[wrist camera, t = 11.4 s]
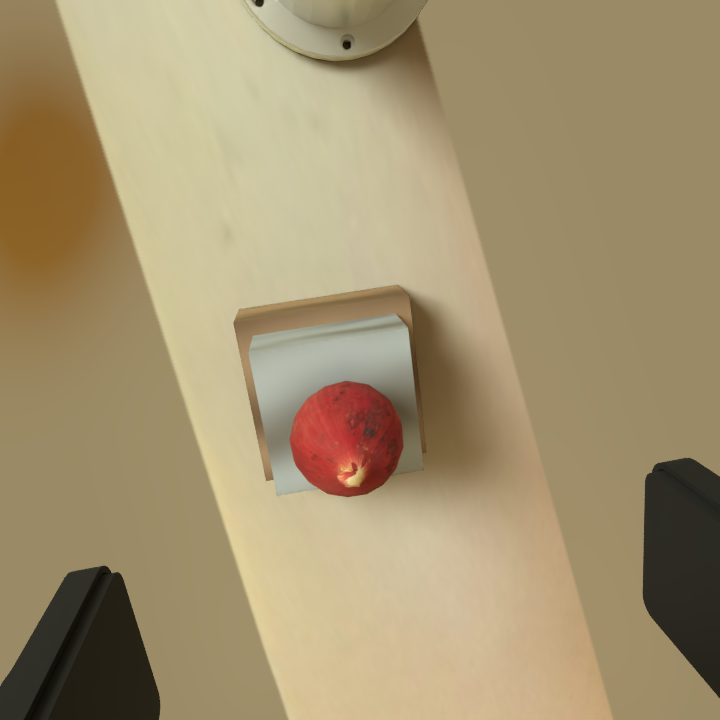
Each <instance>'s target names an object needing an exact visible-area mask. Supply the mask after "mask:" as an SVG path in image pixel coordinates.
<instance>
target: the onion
mask: <svg viewBox="0 0 720 720" xmlns="http://www.w3.org/2000/svg"><path fill="white" fill-rule="evenodd" d="M289 441H290V445H291V450H292V455H293V459H294V462H295V465H296V467H297V468H298V469H299V471H300V472H301V473H302V474H303V476H304V477H305V478H306V479H307V481H308V482H309V483H311V484H312V485H314V486H315V487H317V488H319V489H320V490H322V491H324V492H325V493H327V494H331V495H338V496H344V497H351V496H358V495H364V494H368V493H369V492H371V491H373V490H375V489H376V488H378V487H380V486H382V485H383V484H384V483H385V482H386V481H387V479H388V478H389V477H390V476H391V475H392V473H393V472H394V471H395V470H396V468H397V465H398V462H399V459H400V456H401V453H402V450H403V448H404V444H403V431H402V423H401V419H400V418H399V416H398V414H397V412H396V410H395V408H394V406H393V405H392V403H391V401H390V400H389V399H388V398H387V397H386V396H385V395H383V394H382V393H380V392H379V391H377V390H376V389H374V388H373V387H372V386H370V385H369V384H363V383H357V382H351V381H343V382H339V383H336V384H332V385H328V386H325V387H323V388H322V389H320V390H319V391H317V392H316V393H314V394H313V395H311V396H310V397H308V398H307V400H306V401H305V402H304V404H303V405H302V407H301V408H300V409H299V411H298V412H297V414H296V416H295V418H294V422H293V426H292V430H291V435H290V439H289Z"/></svg>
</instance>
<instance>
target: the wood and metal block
mask: <svg viewBox="0 0 720 720" xmlns="http://www.w3.org/2000/svg"><path fill="white" fill-rule="evenodd" d="M234 328H235V333H236V338H237V342H238V347H239V352H240V357H241V362H242V366H243V371H244V376H245V381H246V386H247V391H248V395H249V400H250V405H251V410H252V415H253V419H254V424H255V429H256V434H257V439H258V444H259V448H260V453H261V458H262V463H263V468H264V472H265V477H266V481H269V480H274V483H275V488H276V492H277V496H280V495H286V494H291V493H297V492H302V491H308V490H314V489H319V488H317V487H315V486H314V485H312V484H311V483H309V482H308V481H307V479H306V478H305V477H304V476H303V474H302V473H301V472H300V471H299V469H298V468H297V467H296V465H295V462H294V459H293V455H292V450H291V445H290V441H289V439H290V435H291V430H292V426H293V422H294V418H295V416H296V414H297V412H298V411H299V409H300V408H301V407H302V405H303V404H304V402H305V401H306V400H307V398H308V397H310V396H311V395H313V394H314V393H316V392H317V391H319V390H320V389H322V388H323V387H325V386H328V385H332V384H336V383H339V382H343V381H351V382H357V383H363V384H369V385H370V386H372V387H373V388H374V389H376V390H377V391H379V392H380V393H382V394H383V395H385V396H386V397H387V398H388V399H389V400H390V401H391V403H392V405H393V406H394V408H395V410H396V412H397V414H398V416H399V418H400V419H401V423H402V431H403V444H404V448H403V450H402V453H401V456H400V459H399V462H398V465H397V468H396V470H395V471H394V472H393V473H392V475H397V474H402V473H408V472H413V471H419V470H424V466H423V458H422V453H426V444H425V435H424V426H423V416H422V407H421V398H420V389H419V380H418V371H417V361H416V352H415V343H414V334H413V325H412V316H411V306H410V297H409V294H407V293H406V292H405V291H404V290H403V289H402V288H401V287H400V286H398V285H394V286H387V287H381V288H374V289H368V290H361V291H355V292H349V293H342V294H336V295H329V296H323V297H316V298H310V299H304V300H297V301H291V302H284V303H278V304H271V305H265V306H258V307H252V308H246V309H239V311H238V313H237V315H236V318H235V320H234Z"/></svg>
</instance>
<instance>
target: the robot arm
mask: <svg viewBox="0 0 720 720" xmlns="http://www.w3.org/2000/svg"><path fill="white" fill-rule="evenodd" d="M263 1H264V5H263V6H262V7H258V6H256V4H255V2H256V0H242V2H243V4H244V5H245V7H246V9H247V10H248V11H249V13H250V14H251V15H252V16H253V18H254V19H255V20H256V21H257V23H258V24H259V25H260V26H261V27H262V28H263V29H264V30H265V31H266V32H268V33H269V34H270V35H271V36H272V37H273V38H274V39H275V40H277V41H278V42H280V43H282V44H283V45H285V46H287V47H288V48H290V49H292V50H293V51H295V52H298V53H301V54H303V55H306V56H309V57H312V58H315V59H322V60H329V61H342V60H354V59H357V58H361V57H364V56H368V55H371V54H373V53H375V52H377V51H379V50H381V49H383V48H384V47H386V46H388V45H390V44H391V43H392V42H393V41H394V40H396V39H397V38H398V37H399V36H400V35H402V34H403V33H404V32H405V31H406V30H407V29H408V27H409V26H410V25H411V24H412V23H413V22H414V20H415V19H416V18H417V16H418V15H419V13H420V12H421V10H422V9H423V7H424V5H425V4H426V2H427V0H263ZM345 41H347V42H349V43H350V45H351V48H350V49H348V50H347V49H345V48H343V42H345ZM643 599H644V604H645V606H646V609H647V611H648V613H649V614H650V616H651V617H652V619H653V620H654V621H655V622H656V623H657V624H658V626H659V627H660V628H661V629H662V630H663V631H664V633H665V634H666V635H667V636H668V637H669V639H670V640H671V641H672V642H673V643H674V645H675V646H676V647H677V648H678V649H679V650H680V652H681V653H682V654H683V655H684V656H685V658H686V659H687V660H688V661H689V662H690V664H691V665H692V666H693V667H694V668H695V669H696V671H697V672H698V673H699V674H700V675H701V677H702V678H703V679H704V680H705V681H706V682H707V684H708V685H709V686H710V687H711V688H712V690H713V691H714V692H715V693H716V694H717V696H718V697H719V698H720V477H719V476H718V475H716V474H715V473H713V472H712V471H710V470H709V469H707V468H706V467H704V466H703V465H701V464H700V463H698V462H697V461H695V460H693V459H691V458H683V459H678V460H673V461H667V462H662V463H658V464H656V465H655V466H654V468H653V470H652V473H649V474H648V475H647V477H646V480H645V513H644V563H643ZM159 698H160V697H159V692H158V689H157V686H156V683H155V680H154V676H153V673H152V670H151V667H150V663H149V660H148V657H147V654H146V651H145V647H144V644H143V641H142V638H141V635H140V631H139V628H138V625H137V622H136V619H135V615H134V612H133V609H132V606H131V603H130V600H129V596H128V593H127V590H126V587H125V583H124V580H123V578H122V576H121V574H120V573H118V572H116V573H111V571H110V570H109V568H108V567H106V566H100V567H94V568H89V569H84V570H78V571H73V572H70V573H68V574H67V576H66V577H65V578H64V580H63V582H62V584H61V585H60V587H59V589H58V590H57V592H56V594H55V596H54V597H53V599H52V601H51V602H50V604H49V606H48V608H47V609H46V611H45V613H44V615H43V616H42V618H41V620H40V621H39V623H38V625H37V627H36V629H35V630H34V632H33V634H32V635H31V637H30V639H29V640H28V642H27V644H26V646H25V648H24V649H23V651H22V653H21V654H20V656H19V658H18V660H17V661H16V663H15V665H14V667H13V668H12V670H11V671H10V673H9V674H8V676H7V677H6V678H5V680H4V681H3V683H2V684H1V686H0V720H159V715H160V699H159Z"/></svg>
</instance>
